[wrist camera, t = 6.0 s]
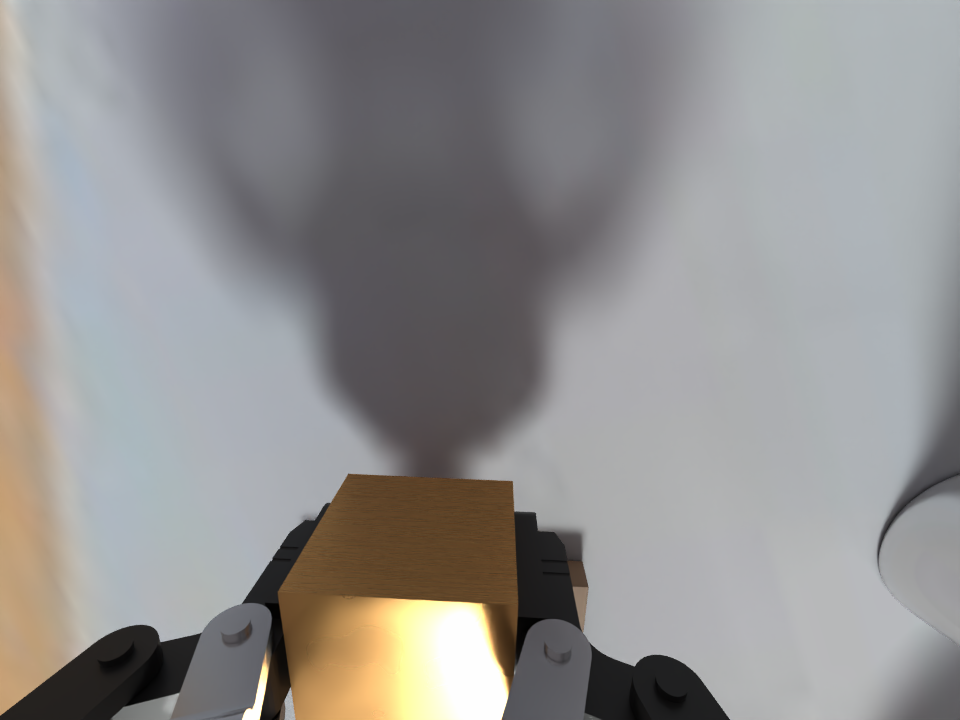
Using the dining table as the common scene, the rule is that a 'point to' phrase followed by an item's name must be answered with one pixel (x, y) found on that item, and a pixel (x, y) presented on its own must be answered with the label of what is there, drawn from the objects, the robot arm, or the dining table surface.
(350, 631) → the shaft
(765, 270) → the dining table surface
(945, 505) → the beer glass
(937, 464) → the dining table surface
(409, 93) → the dining table surface
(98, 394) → the dining table surface
